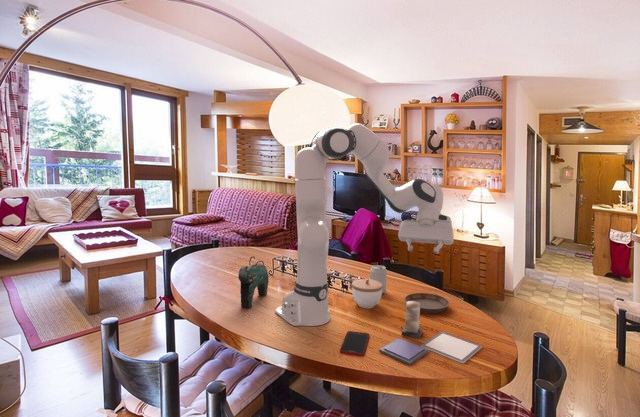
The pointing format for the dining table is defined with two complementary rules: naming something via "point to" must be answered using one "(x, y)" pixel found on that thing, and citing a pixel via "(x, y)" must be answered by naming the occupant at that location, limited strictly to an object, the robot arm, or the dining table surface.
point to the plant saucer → (428, 302)
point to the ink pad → (404, 351)
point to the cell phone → (355, 343)
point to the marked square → (452, 347)
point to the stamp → (412, 320)
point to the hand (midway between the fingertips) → (422, 251)
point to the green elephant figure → (252, 282)
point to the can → (379, 275)
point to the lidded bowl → (366, 292)
